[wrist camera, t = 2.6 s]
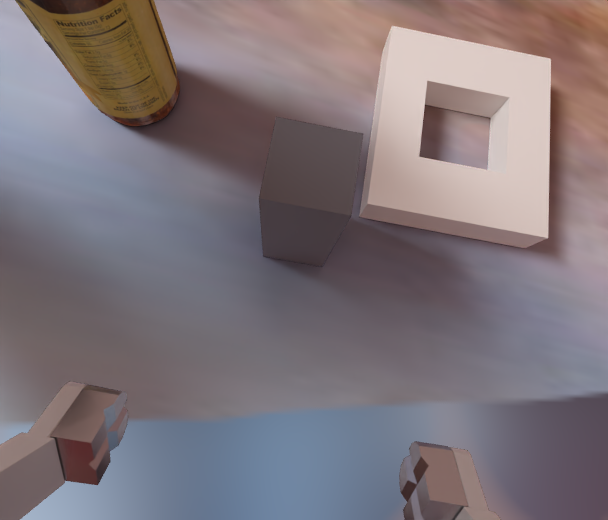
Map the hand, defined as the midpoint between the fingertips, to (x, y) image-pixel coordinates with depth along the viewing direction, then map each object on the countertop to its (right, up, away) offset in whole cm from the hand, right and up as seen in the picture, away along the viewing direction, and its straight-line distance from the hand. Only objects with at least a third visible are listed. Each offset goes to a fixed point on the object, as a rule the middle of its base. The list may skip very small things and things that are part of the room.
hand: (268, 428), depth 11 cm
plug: (+1, +7, +16) cm, 17 cm away
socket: (+12, +13, +18) cm, 26 cm away
